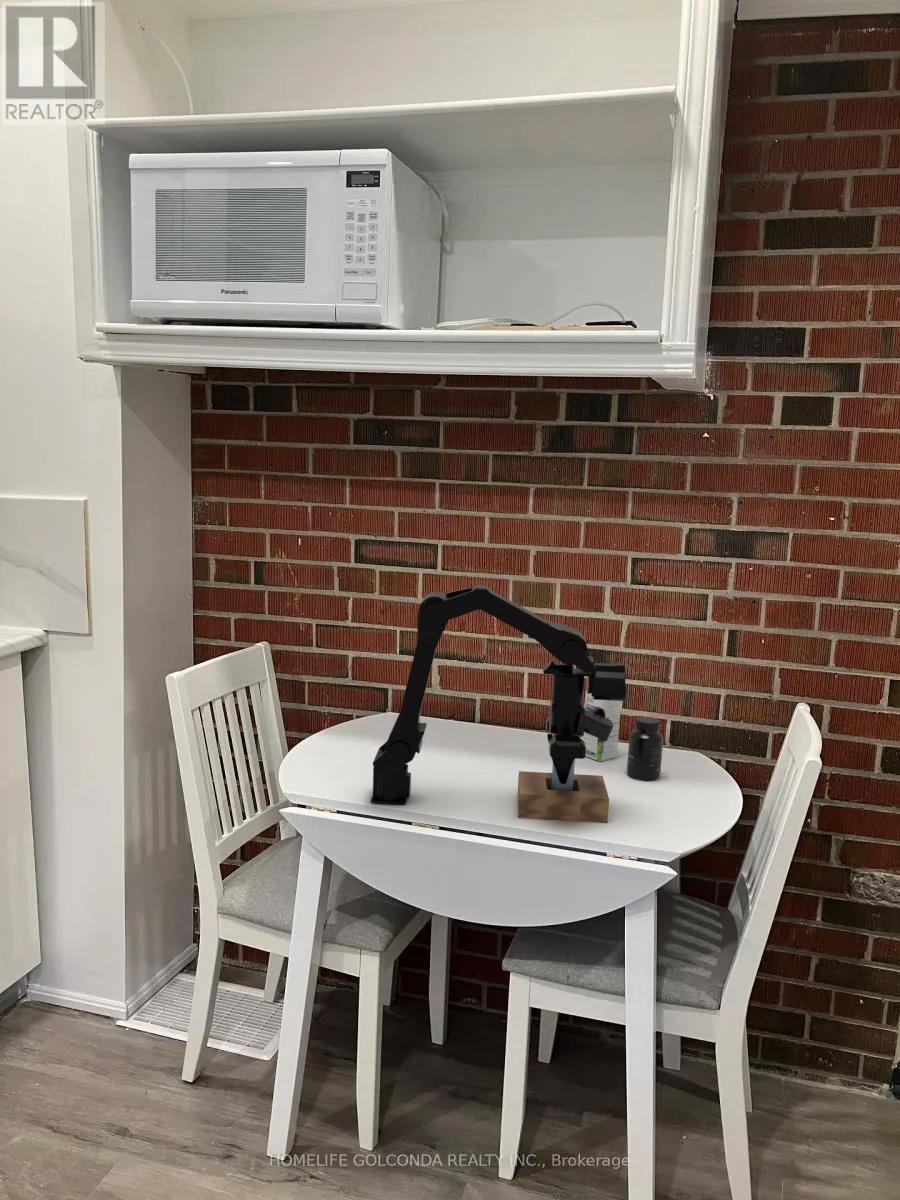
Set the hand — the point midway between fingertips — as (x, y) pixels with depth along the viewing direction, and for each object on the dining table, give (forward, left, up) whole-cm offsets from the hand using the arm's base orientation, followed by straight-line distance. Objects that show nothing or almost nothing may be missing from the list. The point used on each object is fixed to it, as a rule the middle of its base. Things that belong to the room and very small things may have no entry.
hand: (562, 779), depth 176 cm
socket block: (0, 0, -6) cm, 6 cm away
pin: (0, 0, -4) cm, 4 cm away
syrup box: (+10, +31, -6) cm, 33 cm away
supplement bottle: (+18, +20, -6) cm, 28 cm away
